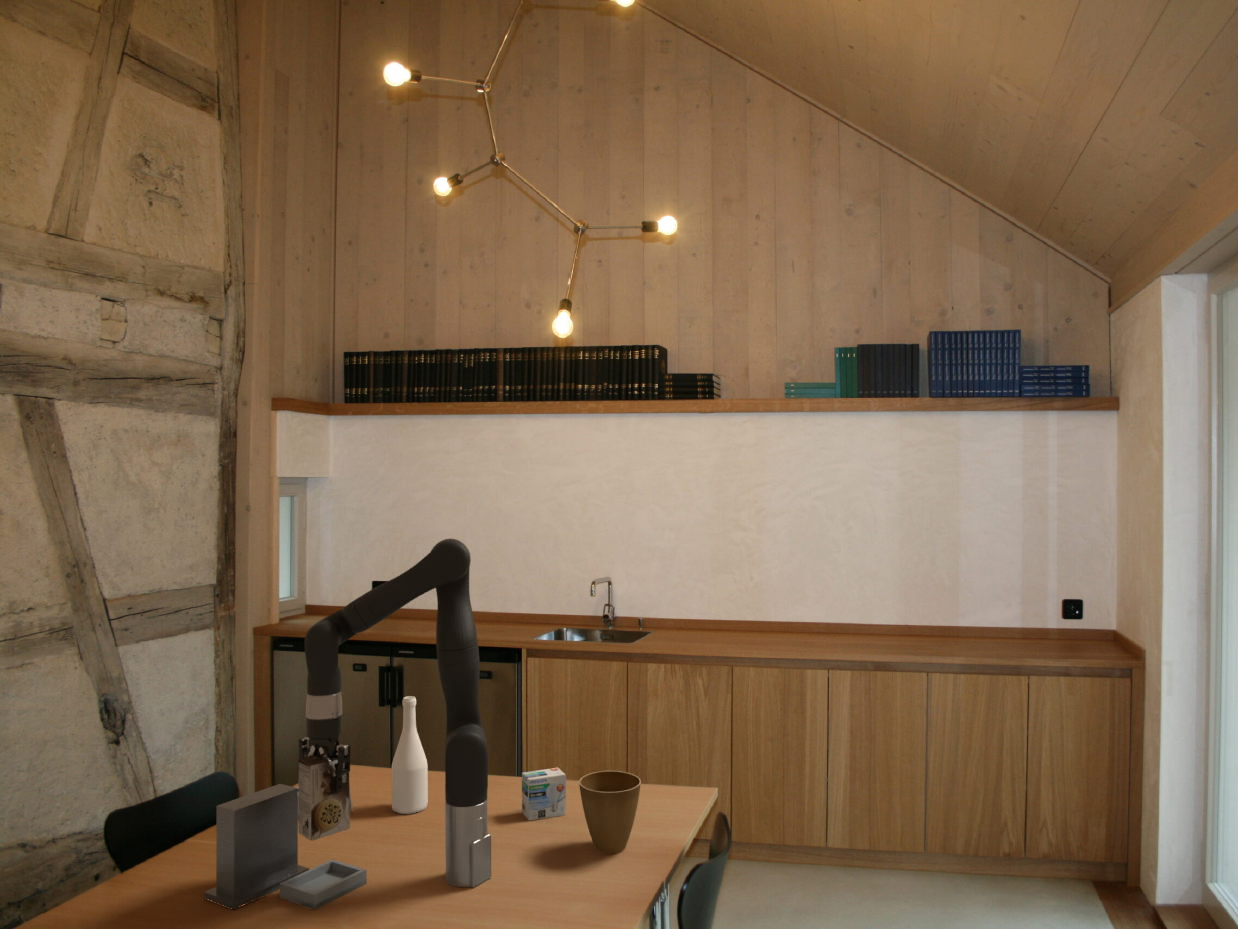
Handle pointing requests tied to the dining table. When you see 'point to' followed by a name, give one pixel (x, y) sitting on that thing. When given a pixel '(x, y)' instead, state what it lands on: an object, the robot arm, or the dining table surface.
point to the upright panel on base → (256, 845)
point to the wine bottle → (409, 766)
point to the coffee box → (321, 800)
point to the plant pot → (610, 807)
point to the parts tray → (323, 884)
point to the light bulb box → (543, 793)
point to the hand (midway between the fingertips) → (324, 789)
